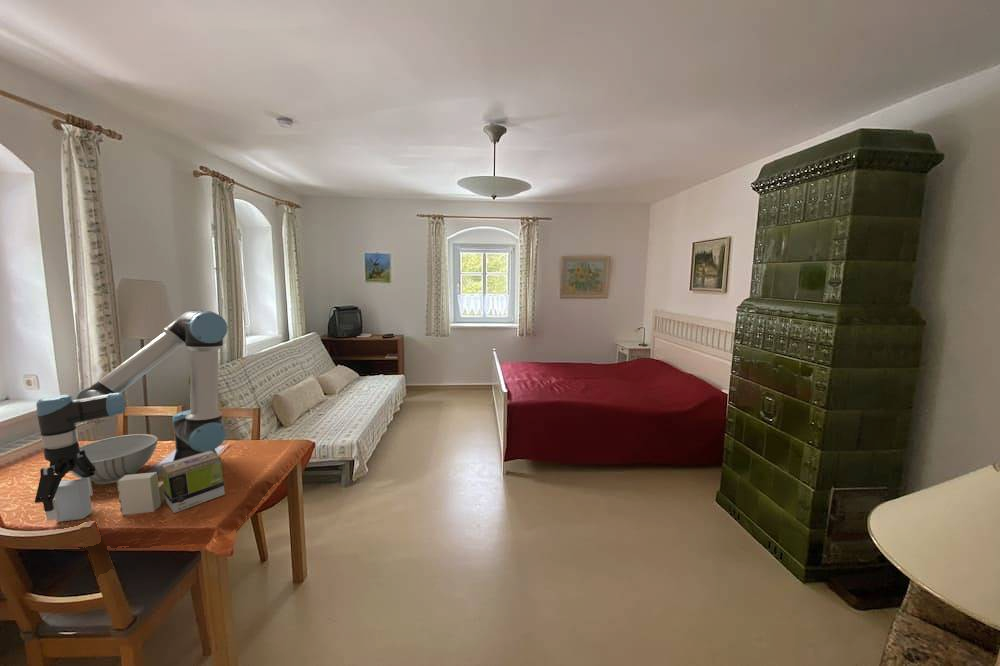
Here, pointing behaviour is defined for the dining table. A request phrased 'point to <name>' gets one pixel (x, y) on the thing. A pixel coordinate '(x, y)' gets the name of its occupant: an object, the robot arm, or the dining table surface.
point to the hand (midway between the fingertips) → (71, 507)
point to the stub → (73, 500)
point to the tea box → (192, 480)
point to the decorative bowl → (118, 456)
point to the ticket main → (140, 493)
